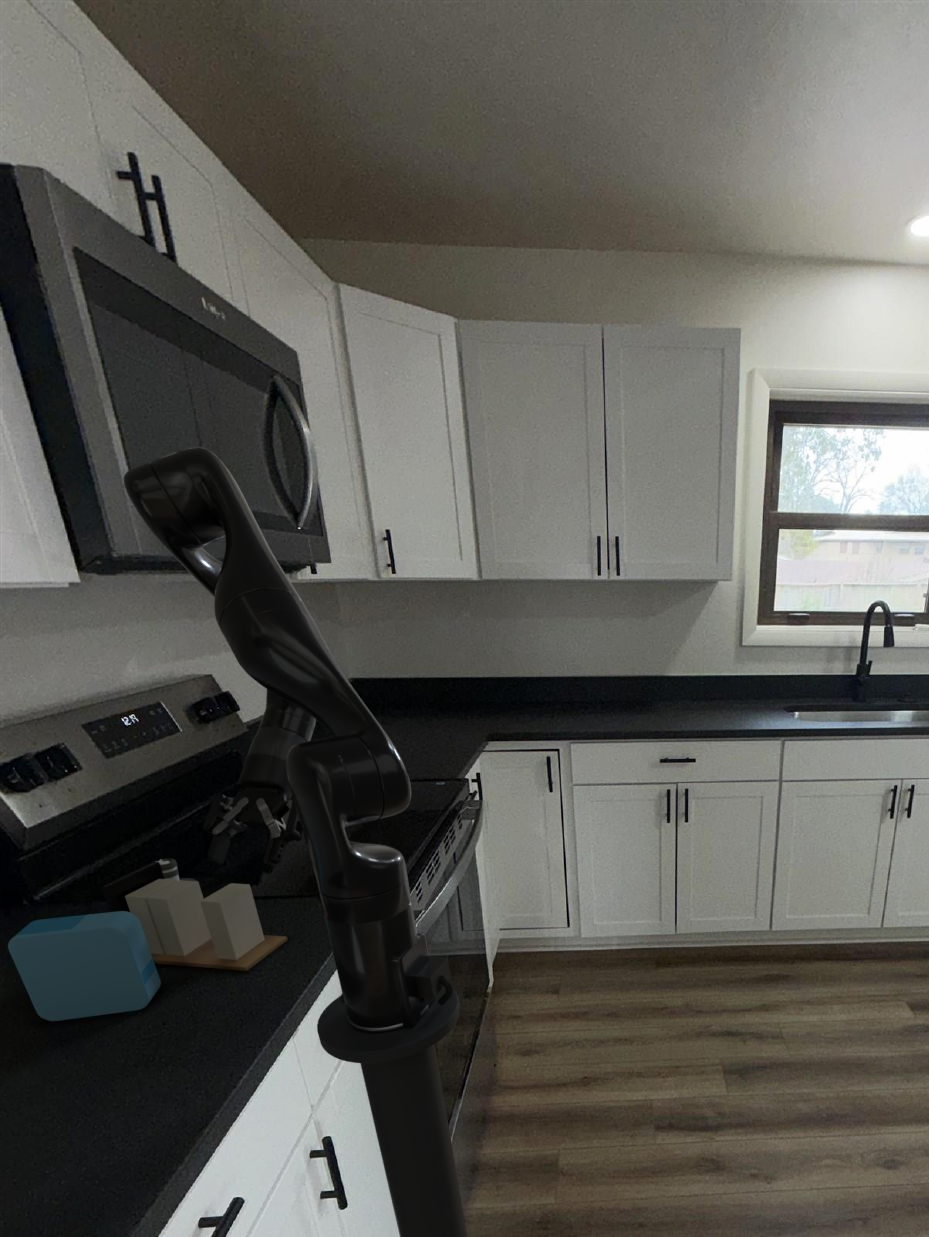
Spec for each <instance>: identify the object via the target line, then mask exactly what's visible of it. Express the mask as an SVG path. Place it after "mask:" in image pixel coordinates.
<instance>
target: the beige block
mask: <svg viewBox="0 0 929 1237" xmlns="http://www.w3.org/2000/svg"><path fill="white" fill-rule="evenodd" d="M251 888H252V887H251V885H250V884H249V883H248V884H247V883H234V882H233V883H229V884H227V885H225V886H224V887H222V888H220V889H218V890H216V891H215V892H213V893H211V894H209V895H208V896H206V897H204V898H203V900H201V901H200V903H201V906H202V909H203V912H204V916H205V919H206V922H207V925H208V929H209V932H210V935H211V938H212V942H213V945H214V948H215V951H216V955H217V958H218V959H230V960H237V959H239V958H240V957H242V956H243V955H244V954H246V953H247V952H248V951H250V950H251V949H253V948H254V947H255V946H257V945H258V944H260V943H261V942H262V941H264V940H265V939H264V935H265V934H264V932H263V929H262V925H261V921H260V917H259V913H258V910H257V906H256V902H255V898H254V896H253V891H252V889H251Z"/></svg>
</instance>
